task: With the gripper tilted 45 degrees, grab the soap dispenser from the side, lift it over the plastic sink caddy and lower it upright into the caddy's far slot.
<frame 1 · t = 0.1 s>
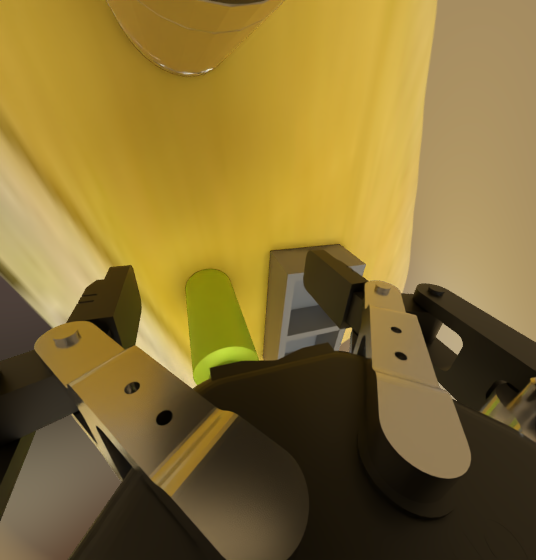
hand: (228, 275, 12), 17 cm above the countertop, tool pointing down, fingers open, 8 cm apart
soap dispenser: (212, 286, 32), on the countertop
caddy: (297, 306, 39), on the countertop
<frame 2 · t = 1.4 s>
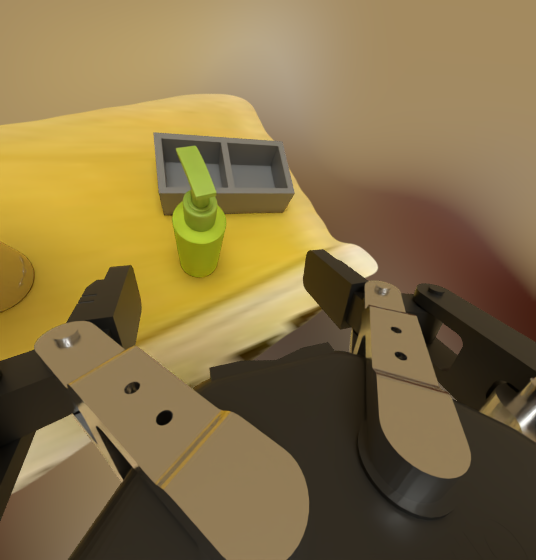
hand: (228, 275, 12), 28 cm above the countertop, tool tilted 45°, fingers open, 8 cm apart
soap dispenser: (198, 257, 40), on the countertop
caddy: (223, 187, 45), on the countertop
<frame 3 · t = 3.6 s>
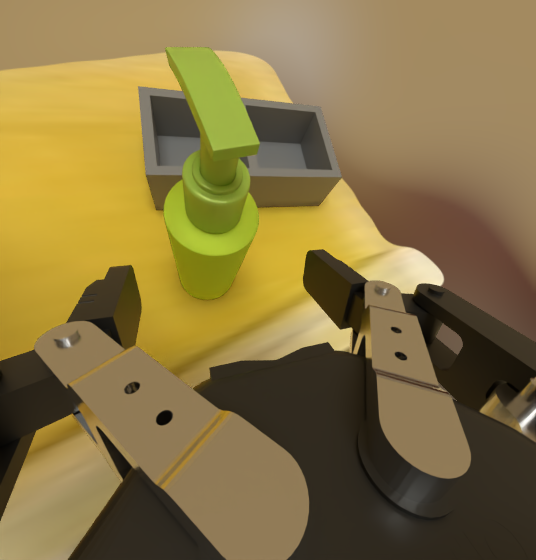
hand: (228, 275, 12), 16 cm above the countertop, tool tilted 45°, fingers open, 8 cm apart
soap dispenser: (205, 270, 28), on the countertop
caddy: (239, 172, 32), on the countertop
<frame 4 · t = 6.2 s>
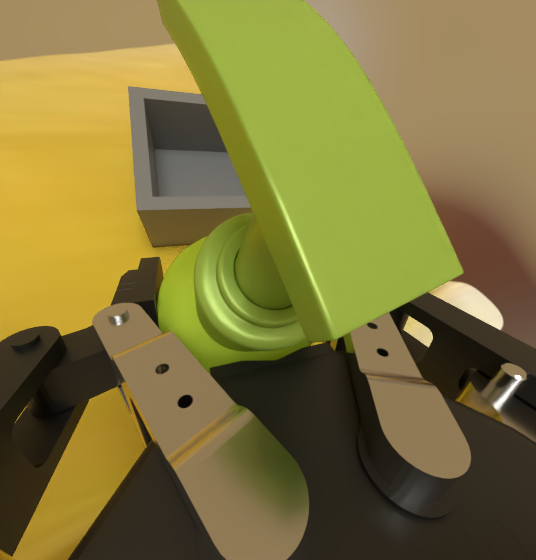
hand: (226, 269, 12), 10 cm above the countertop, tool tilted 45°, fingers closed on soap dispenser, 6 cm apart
soap dispenser: (216, 326, 21), on the countertop, touching gripper
caddy: (257, 194, 26), on the countertop
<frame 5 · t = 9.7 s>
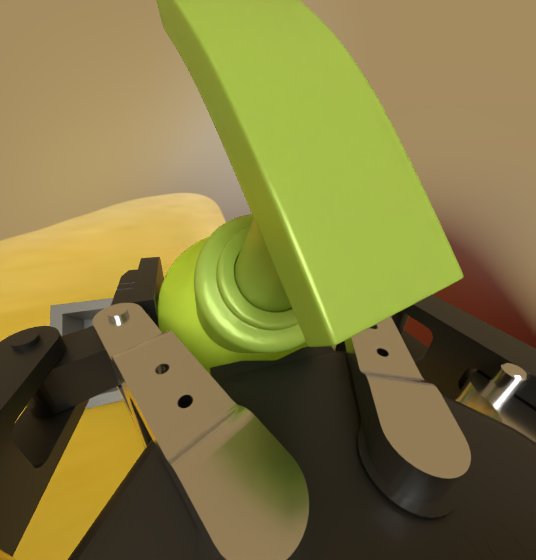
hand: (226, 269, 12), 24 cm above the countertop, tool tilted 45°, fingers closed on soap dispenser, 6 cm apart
soap dispenser: (216, 327, 21), point 14 cm above the countertop, touching gripper
caddy: (171, 340, 32), on the countertop
when the fingers open (12 cm above the countertop, at t = 13.4 s): soap dispenser stays where it is, resting on caddy.
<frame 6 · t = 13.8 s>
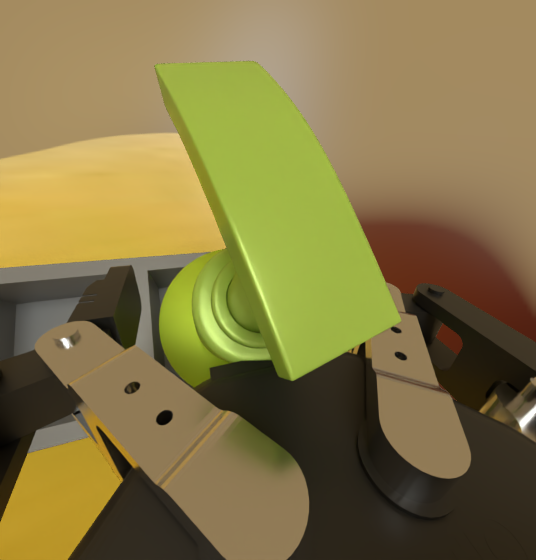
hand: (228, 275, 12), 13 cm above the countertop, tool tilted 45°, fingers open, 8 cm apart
soap dispenser: (215, 330, 22), point 1 cm above the countertop, touching caddy
caddy: (157, 338, 21), on the countertop
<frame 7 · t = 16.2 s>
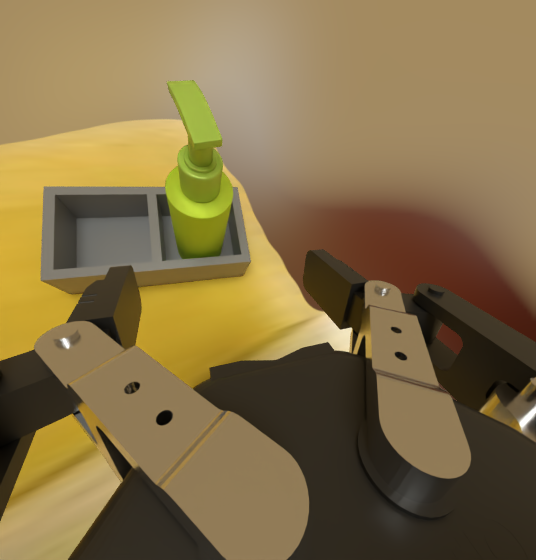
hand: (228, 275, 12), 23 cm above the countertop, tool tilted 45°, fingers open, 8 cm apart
soap dispenser: (198, 244, 34), point 1 cm above the countertop, touching caddy
caddy: (161, 247, 34), on the countertop
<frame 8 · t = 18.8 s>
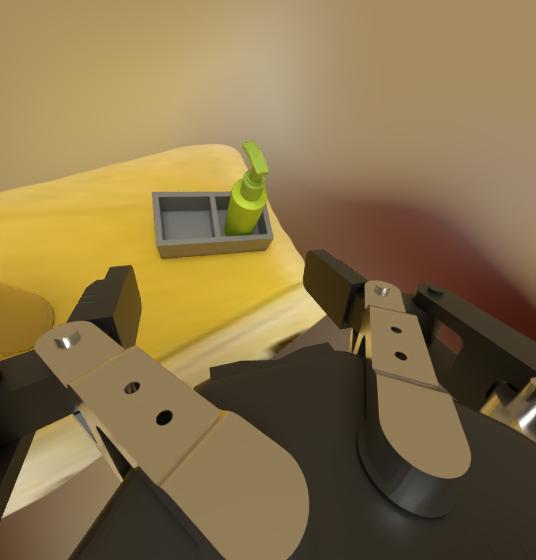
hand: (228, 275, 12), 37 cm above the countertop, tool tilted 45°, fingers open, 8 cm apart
soap dispenser: (237, 229, 52), point 1 cm above the countertop, touching caddy
caddy: (213, 231, 51), on the countertop
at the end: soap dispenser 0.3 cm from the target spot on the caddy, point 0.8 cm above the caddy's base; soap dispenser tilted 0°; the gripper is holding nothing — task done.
